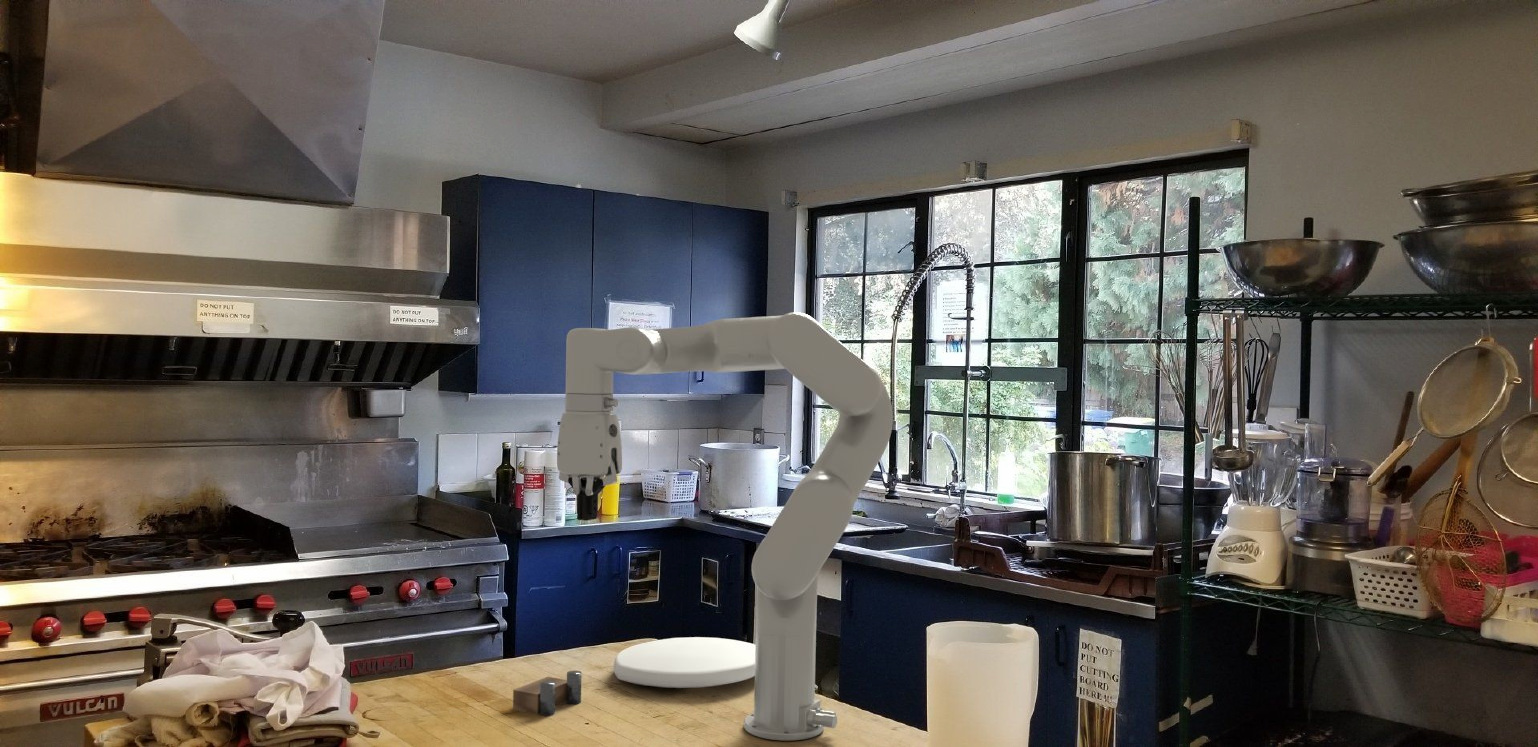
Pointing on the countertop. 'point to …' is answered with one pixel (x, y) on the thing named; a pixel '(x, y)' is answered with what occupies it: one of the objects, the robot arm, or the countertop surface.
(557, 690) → the block
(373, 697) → the countertop surface
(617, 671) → the white thick disc
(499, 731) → the countertop surface
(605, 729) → the countertop surface
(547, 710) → the bench dogs
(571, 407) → the robot arm
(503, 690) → the countertop surface
